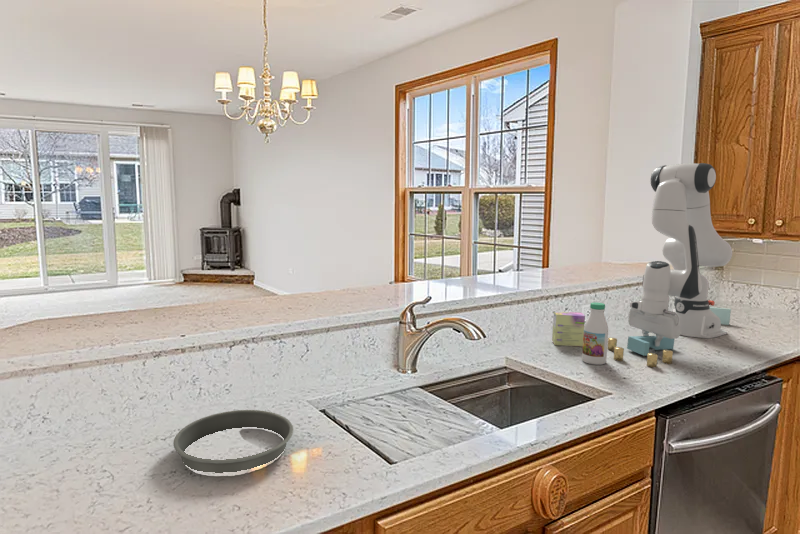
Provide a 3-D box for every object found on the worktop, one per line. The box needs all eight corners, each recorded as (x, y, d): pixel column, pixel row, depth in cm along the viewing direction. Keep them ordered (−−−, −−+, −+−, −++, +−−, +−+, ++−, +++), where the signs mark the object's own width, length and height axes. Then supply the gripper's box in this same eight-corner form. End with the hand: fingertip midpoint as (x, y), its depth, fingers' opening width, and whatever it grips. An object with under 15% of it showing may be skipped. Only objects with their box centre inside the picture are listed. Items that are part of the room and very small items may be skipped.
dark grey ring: (285, 480, 104) (285, 459, 103) (156, 485, 102) (154, 463, 101) (299, 425, 128) (299, 407, 127) (194, 427, 126) (194, 409, 125)
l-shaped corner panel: (729, 326, 230) (730, 309, 229) (697, 322, 235) (699, 306, 234) (725, 320, 241) (727, 304, 240) (695, 317, 246) (697, 301, 245)
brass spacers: (626, 346, 196) (627, 335, 196) (676, 364, 176) (678, 352, 175) (591, 350, 190) (592, 339, 190) (638, 369, 170) (639, 357, 169)
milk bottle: (588, 356, 183) (592, 300, 180) (610, 361, 178) (614, 303, 175) (577, 361, 178) (581, 303, 175) (599, 367, 172) (604, 307, 169)
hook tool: (668, 347, 195) (669, 335, 194) (686, 354, 187) (687, 341, 186) (627, 348, 190) (628, 336, 190) (643, 355, 182) (644, 342, 182)
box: (579, 342, 200) (581, 312, 199) (583, 346, 195) (585, 315, 193) (551, 341, 201) (553, 311, 200) (554, 345, 196) (556, 314, 194)
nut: (647, 352, 188) (648, 346, 188) (656, 356, 184) (657, 349, 184) (639, 353, 187) (639, 346, 187) (648, 357, 183) (648, 350, 183)
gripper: (686, 312, 181) (682, 351, 183) (639, 300, 200) (637, 336, 202) (672, 314, 179) (668, 353, 181) (626, 301, 198) (624, 337, 200)
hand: (651, 344), depth 191 cm, fingers closed on hook tool, 3 cm apart
